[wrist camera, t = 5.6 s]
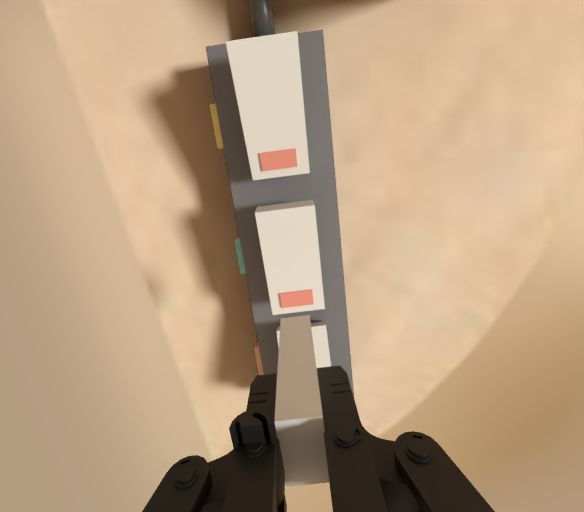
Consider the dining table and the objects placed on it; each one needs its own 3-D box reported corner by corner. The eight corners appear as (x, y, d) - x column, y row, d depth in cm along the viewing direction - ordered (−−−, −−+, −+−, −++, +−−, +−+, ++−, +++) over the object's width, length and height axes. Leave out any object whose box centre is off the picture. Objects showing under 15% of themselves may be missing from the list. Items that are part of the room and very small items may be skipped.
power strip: (195, -28, 23) (171, -75, 18) (309, -45, 22) (314, -98, 18) (267, 383, 32) (263, 417, 28) (347, 374, 32) (356, 407, 28)
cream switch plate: (257, 206, 22) (254, 213, 20) (312, 199, 22) (314, 205, 20) (273, 302, 25) (272, 316, 23) (322, 297, 25) (325, 309, 23)
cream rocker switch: (278, 326, 26) (276, 331, 24) (324, 321, 26) (326, 325, 24) (289, 420, 26) (288, 432, 24) (336, 415, 26) (338, 427, 24)
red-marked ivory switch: (229, 42, 18) (225, 41, 17) (295, 32, 18) (297, 30, 17) (254, 172, 23) (252, 181, 21) (307, 165, 23) (309, 173, 21)
